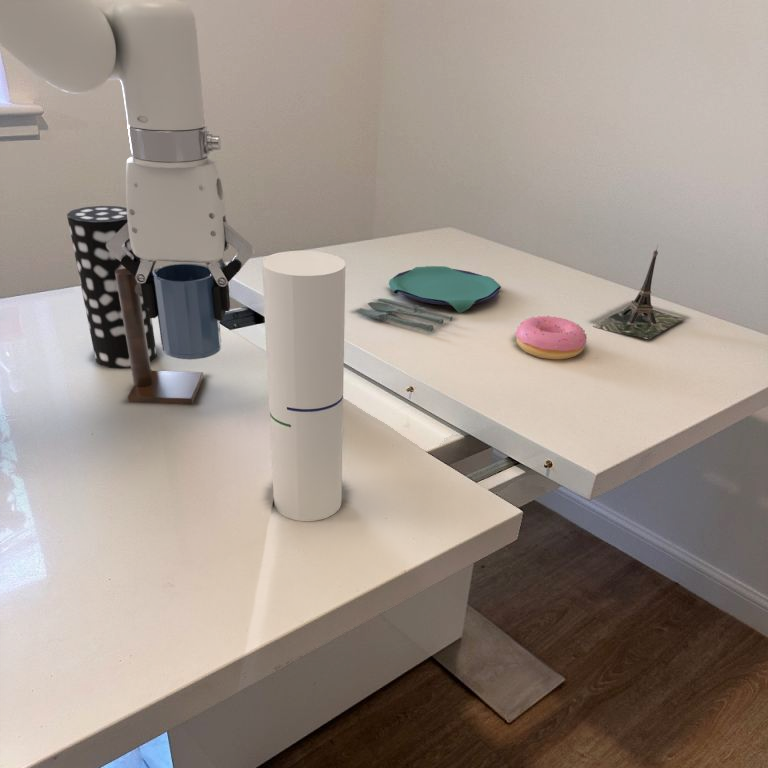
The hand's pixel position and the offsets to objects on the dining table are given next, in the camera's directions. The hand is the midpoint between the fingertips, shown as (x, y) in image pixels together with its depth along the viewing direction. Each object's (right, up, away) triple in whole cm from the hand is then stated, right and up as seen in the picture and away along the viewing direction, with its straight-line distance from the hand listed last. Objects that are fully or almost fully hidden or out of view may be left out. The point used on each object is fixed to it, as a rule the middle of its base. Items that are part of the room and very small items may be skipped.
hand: (188, 314), depth 84 cm
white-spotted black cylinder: (-14, -2, +19) cm, 24 cm away
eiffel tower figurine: (+67, +10, +41) cm, 80 cm away
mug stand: (-3, -8, +11) cm, 14 cm away
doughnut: (+49, +3, +30) cm, 57 cm away
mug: (0, -2, +4) cm, 5 cm away
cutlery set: (+31, +15, +46) cm, 57 cm away
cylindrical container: (+15, -22, -7) cm, 28 cm away
